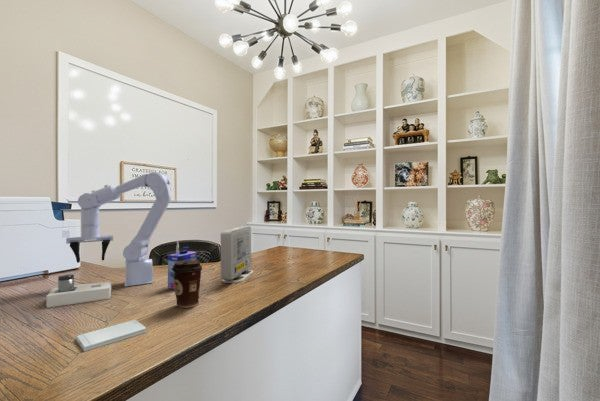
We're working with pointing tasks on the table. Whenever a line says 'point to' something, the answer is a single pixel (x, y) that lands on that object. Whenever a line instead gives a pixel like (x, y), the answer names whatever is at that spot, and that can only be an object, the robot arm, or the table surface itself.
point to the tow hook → (177, 247)
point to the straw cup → (175, 258)
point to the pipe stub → (66, 283)
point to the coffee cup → (187, 283)
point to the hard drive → (110, 335)
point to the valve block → (80, 294)
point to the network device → (235, 254)
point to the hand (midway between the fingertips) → (90, 261)
